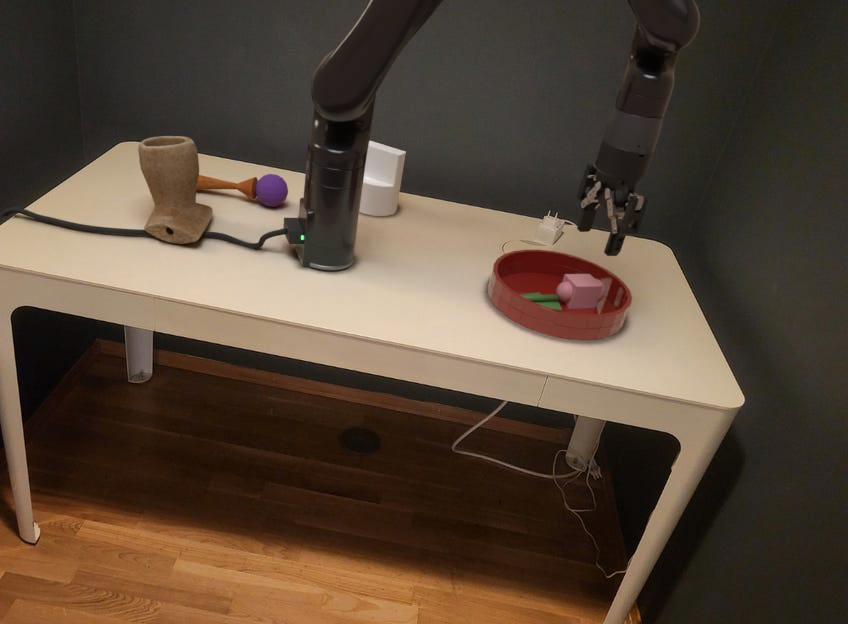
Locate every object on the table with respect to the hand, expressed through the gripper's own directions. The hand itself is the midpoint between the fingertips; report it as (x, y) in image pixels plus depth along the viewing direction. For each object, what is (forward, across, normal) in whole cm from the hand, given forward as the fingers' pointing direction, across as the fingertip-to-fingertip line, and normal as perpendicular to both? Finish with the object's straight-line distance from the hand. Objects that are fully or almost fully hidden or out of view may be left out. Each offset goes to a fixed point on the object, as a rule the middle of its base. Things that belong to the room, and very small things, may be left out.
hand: (596, 242), depth 118 cm
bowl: (+11, 0, -4) cm, 12 cm away
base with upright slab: (+11, -39, -24) cm, 47 cm away
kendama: (+11, -42, -51) cm, 67 cm away
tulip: (+11, 0, -4) cm, 12 cm away
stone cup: (+11, -29, -63) cm, 70 cm away
